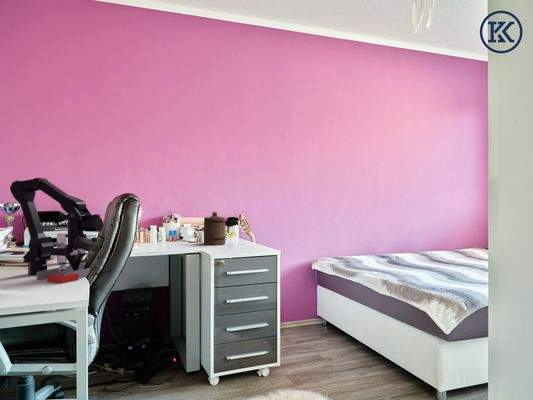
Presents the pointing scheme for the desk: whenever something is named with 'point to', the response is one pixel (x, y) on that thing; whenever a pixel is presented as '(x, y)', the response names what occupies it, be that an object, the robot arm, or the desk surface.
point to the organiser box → (81, 273)
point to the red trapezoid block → (62, 276)
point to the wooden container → (214, 230)
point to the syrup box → (61, 243)
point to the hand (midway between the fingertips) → (75, 271)
